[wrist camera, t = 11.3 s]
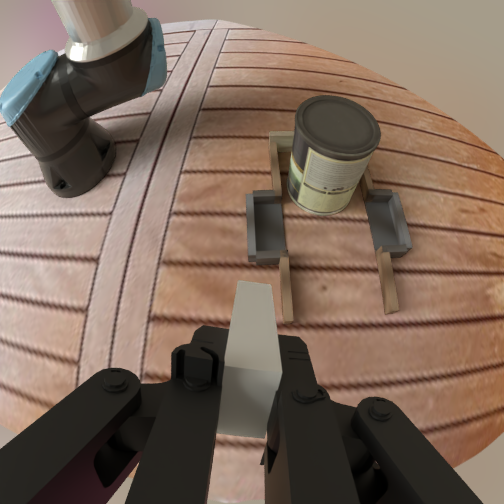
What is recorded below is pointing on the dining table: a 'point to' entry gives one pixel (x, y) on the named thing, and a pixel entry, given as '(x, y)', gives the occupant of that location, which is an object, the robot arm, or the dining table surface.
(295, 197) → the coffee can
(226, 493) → the dining table surface
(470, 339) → the dining table surface
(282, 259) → the box
